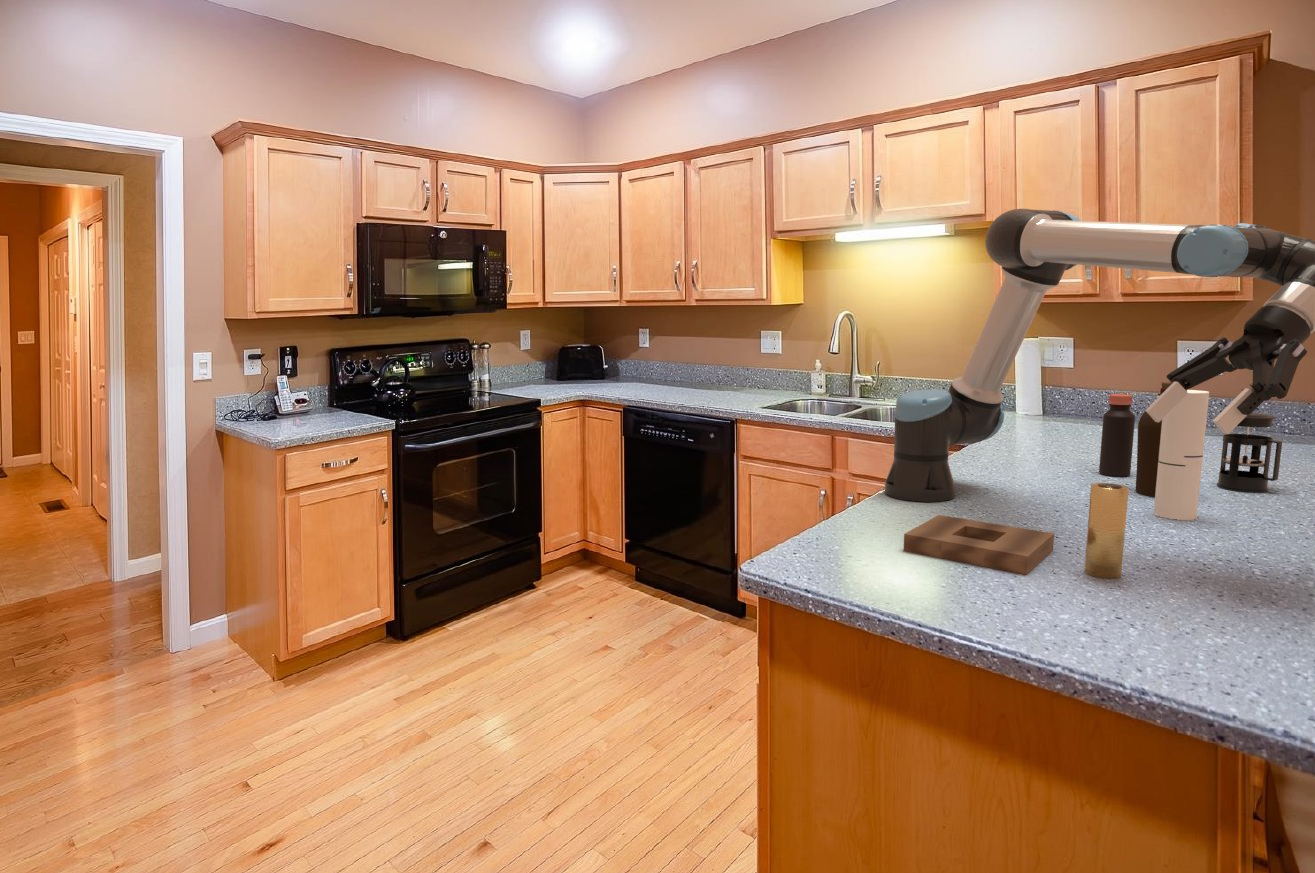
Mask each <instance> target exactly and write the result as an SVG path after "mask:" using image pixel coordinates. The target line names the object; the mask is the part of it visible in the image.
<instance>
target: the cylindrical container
mask: <svg viewBox="0 0 1315 873" xmlns="http://www.w3.org/2000/svg"><path fill="white" fill-rule="evenodd" d="M1187 392H1188V394H1187V395H1186V396H1185V397H1184V398H1183V399H1182V400H1181V401H1180V402H1179V403H1178V404H1177V405H1176V406H1175V407H1174V408H1173V409H1172V410H1171V411H1170V412H1169V413H1168V414H1167V415H1166V416H1165V417H1164V418H1163V419H1162V428H1161V438H1160V449H1159V461H1158V471H1157V482H1156V493H1155V497H1154V505H1153V515H1154V516H1156V517H1159V516H1160V517H1159V518H1162V517H1164V518H1163V519H1167V518H1169V519H1168V520H1173V519H1177V520H1176V521H1194V519H1195V520H1197V518H1198V507H1199V498H1200V497H1199V496H1200V490H1201V489H1200V488H1201V487H1200V486H1201V478H1202V469H1203V468H1202V467H1203V458H1204V449H1205V448H1204V447H1205V439H1206V438H1205V436H1206V431H1207V430H1206V428H1207V421H1208V420H1207V418H1208V409H1209V401H1210V400H1209V399H1210V391H1209V390H1207V391H1206V390H1197V389H1196V390H1195V389H1188V390H1187Z"/></svg>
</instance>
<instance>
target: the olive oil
mask: <svg viewBox="0 0 1315 873" xmlns="http://www.w3.org/2000/svg"><path fill="white" fill-rule="evenodd" d="M1170 385H1171V382H1170V381H1163V382H1161V388H1160V389H1159V390H1160V391H1159V392H1160V393H1159V394H1160V395H1161V394H1162V393H1163V392H1164V391H1165V390H1166V389H1167V388H1168V387H1169V386H1170ZM1160 395H1159V396H1160ZM1161 428H1162V420H1161V421H1160V422H1155V421H1154V420H1153V418H1152V417H1151V416H1150V415H1149V414H1148V413H1147V412H1146V411H1144V412H1143V413H1142V414H1141V415H1140V418H1139V420H1138V423H1137V443H1136V444H1137V446H1136V447H1137V448H1136V474H1135V475H1136V476H1135V477H1136V478H1135V492H1136V493H1137V494H1139V495H1144V496H1147V497H1152V498H1155V493H1156V482H1157V471H1158V461H1159V449H1160V438H1161Z"/></svg>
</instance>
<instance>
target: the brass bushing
mask: <svg viewBox="0 0 1315 873" xmlns="http://www.w3.org/2000/svg"><path fill="white" fill-rule="evenodd" d="M1128 499H1129V486H1126V485H1123V484H1118V483H1113V482H1112V483H1110V482H1095V483H1091V484H1090V492H1089V509H1088V520H1087V533H1086V534H1087V536H1086V543H1085V544H1086V545H1085V546H1086V548H1085V558H1084V559H1085V560H1084V573H1085V574H1087V575H1089V576H1092V577H1095V578H1100V579H1106V580H1109V579H1110V580H1111V579H1113V580H1116V579H1119V578H1121V577H1122V570H1123V569H1122V568H1123V561H1124V560H1123V559H1124V548H1125V538H1126V537H1125V536H1126V524H1127V510H1128V503H1129V502H1128V501H1129V500H1128Z"/></svg>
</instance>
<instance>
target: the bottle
mask: <svg viewBox="0 0 1315 873" xmlns="http://www.w3.org/2000/svg"><path fill="white" fill-rule="evenodd" d="M1132 405H1133V395H1132V394H1119V393H1117V394H1115V393H1114V394H1109V397H1108V406H1109V410H1107V411H1106V412H1105V413H1104V414H1103V416H1102V418H1103V419H1102V427H1101V429H1102V430H1101V440H1100V454H1099V455H1100V456H1099V466H1098V468H1099V469H1098V473H1099V474H1100V475H1103V476H1106V477H1115V478H1125V477H1130V475H1131V470H1132V469H1131V468H1132V458H1133V448H1134V446H1133V445H1134V435H1135V434H1134V433H1135V424H1136V423H1135V422H1136V416H1135V414H1134V413H1133V412H1132V411H1131V407H1132Z"/></svg>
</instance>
